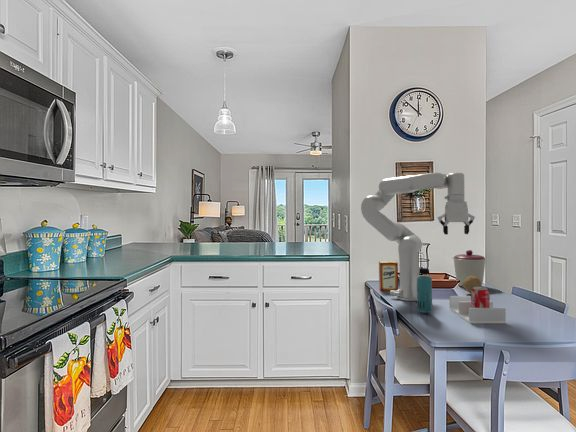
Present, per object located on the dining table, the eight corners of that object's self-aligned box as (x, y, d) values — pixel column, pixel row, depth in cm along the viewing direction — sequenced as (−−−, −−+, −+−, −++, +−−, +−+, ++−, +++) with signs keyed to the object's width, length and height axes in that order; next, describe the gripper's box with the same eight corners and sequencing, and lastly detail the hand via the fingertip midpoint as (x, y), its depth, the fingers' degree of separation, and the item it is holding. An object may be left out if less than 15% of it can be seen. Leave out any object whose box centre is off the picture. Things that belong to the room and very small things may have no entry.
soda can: (467, 314, 174) (467, 286, 174) (483, 314, 175) (483, 285, 175) (476, 319, 167) (476, 289, 167) (493, 318, 168) (493, 289, 168)
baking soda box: (380, 290, 231) (380, 262, 231) (379, 288, 238) (378, 260, 237) (397, 290, 230) (397, 262, 230) (396, 288, 237) (395, 260, 236)
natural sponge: (459, 294, 219) (459, 275, 218) (467, 291, 225) (467, 273, 224) (477, 297, 212) (477, 277, 212) (484, 294, 218) (484, 275, 218)
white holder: (469, 323, 165) (469, 308, 165) (449, 309, 188) (449, 296, 188) (505, 323, 165) (505, 308, 164) (480, 309, 188) (480, 295, 187)
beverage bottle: (432, 312, 183) (432, 267, 182) (432, 316, 176) (432, 269, 176) (417, 311, 185) (416, 266, 184) (416, 315, 179) (416, 269, 178)
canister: (484, 290, 228) (484, 252, 227) (449, 287, 238) (449, 250, 237) (488, 285, 243) (488, 249, 242) (456, 282, 253) (455, 247, 252)
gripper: (440, 198, 195) (440, 234, 196) (477, 198, 195) (477, 234, 195) (435, 199, 203) (435, 233, 203) (471, 198, 202) (471, 233, 202)
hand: (456, 234), depth 199 cm, fingers open, 9 cm apart
